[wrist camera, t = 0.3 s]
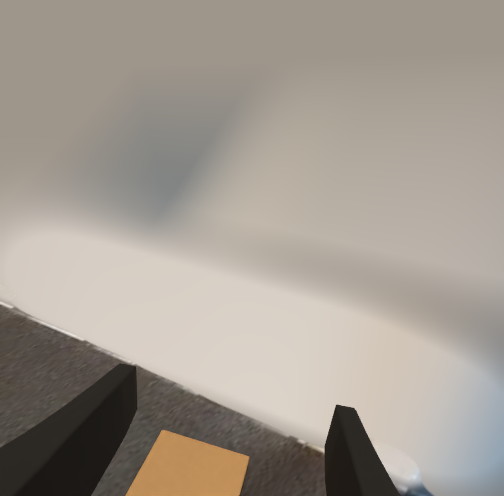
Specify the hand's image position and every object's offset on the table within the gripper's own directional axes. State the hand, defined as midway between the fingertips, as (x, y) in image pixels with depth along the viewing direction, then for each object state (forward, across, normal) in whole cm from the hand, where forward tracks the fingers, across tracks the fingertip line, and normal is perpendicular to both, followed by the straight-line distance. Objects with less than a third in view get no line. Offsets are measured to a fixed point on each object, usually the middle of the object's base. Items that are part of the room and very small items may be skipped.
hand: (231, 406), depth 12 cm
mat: (+9, +4, +21) cm, 24 cm away
